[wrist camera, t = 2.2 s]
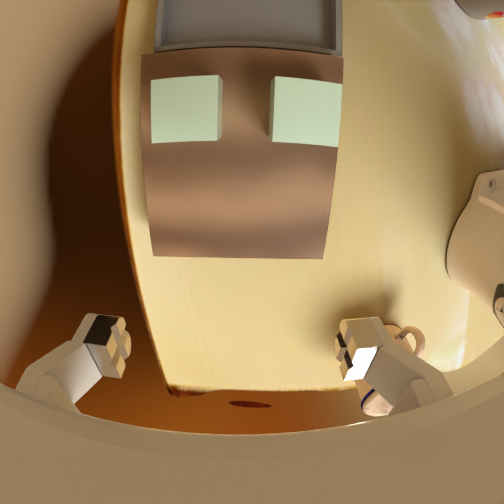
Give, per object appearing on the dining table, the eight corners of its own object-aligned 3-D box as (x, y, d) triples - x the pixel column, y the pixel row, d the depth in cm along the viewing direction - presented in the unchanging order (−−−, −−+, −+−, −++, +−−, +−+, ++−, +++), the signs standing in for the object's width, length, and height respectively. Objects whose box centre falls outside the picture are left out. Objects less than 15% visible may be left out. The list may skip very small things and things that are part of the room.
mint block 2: (324, 141, 18) (338, 147, 15) (268, 137, 18) (272, 141, 15) (328, 87, 16) (342, 84, 13) (270, 81, 16) (275, 76, 13)
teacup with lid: (383, 366, 37) (406, 428, 27) (334, 365, 36) (352, 435, 26) (425, 308, 32) (466, 372, 21) (376, 300, 30) (415, 376, 20)
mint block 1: (221, 136, 18) (217, 140, 15) (165, 138, 18) (151, 143, 15) (222, 80, 16) (218, 75, 13) (164, 84, 16) (151, 80, 13)
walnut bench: (312, 237, 26) (322, 259, 23) (165, 235, 26) (153, 256, 22) (327, 65, 18) (343, 58, 15) (158, 63, 18) (141, 55, 14)
